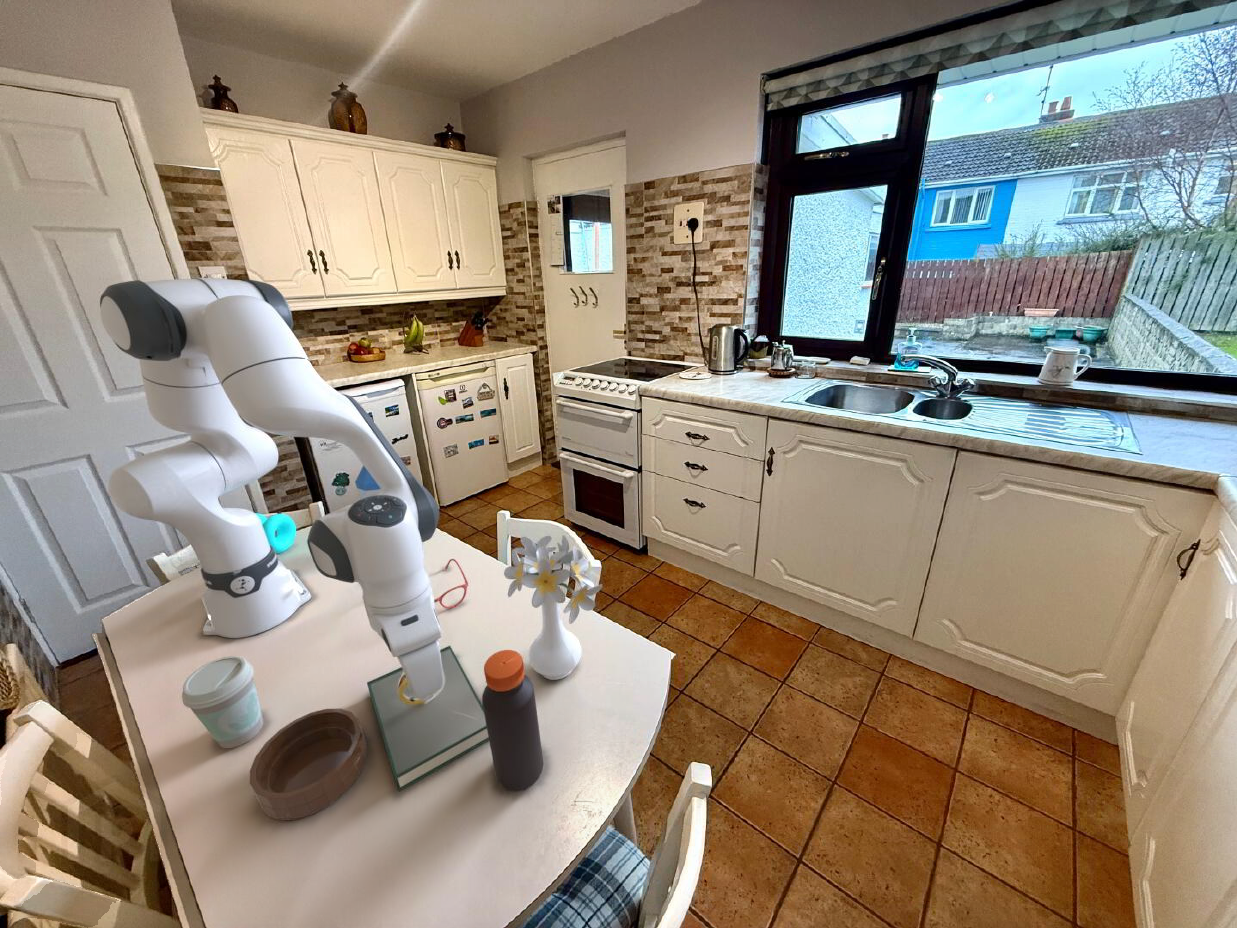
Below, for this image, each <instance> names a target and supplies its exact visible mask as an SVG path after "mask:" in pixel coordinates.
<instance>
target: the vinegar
mask: <svg viewBox="0 0 1237 928" xmlns="http://www.w3.org/2000/svg"><path fill="white" fill-rule="evenodd" d="M524 665H525V664H524V659H523V656H522V654H521V653H519V652H518V651H516V650H513V649H504V650H503V649H502V650H499V651H497V652H495V653H493V654H491V655H490V656H489V657H488V658H487V659H486V661H485V662H484V665H483V672H484V677H485V683H486V686H485V687H484V690H483V692H482V695H481V704H482V706H483V710H484V716H485V721H486V726H487V732H488V737H489V740H488V742H489V747H490V753H491V759H492V764H493V769H494V773H495V777H496V780H497V782H498V784H499V785H500V786H501V787H502V788H503V789H505V790H508V791H512V792H513V791H515V792H518V791H523V790H527V788H530V787H531V786H533V785H534V784H535V782H536V781H538V779H539V778H540V776H541V774H542V773H543V768H544V757H543V750H542V741H541V734H540V726H539V720H538V717H539V716H538V710H537V703H536V696H535V695H536V694H535V687H534V683H533V682H532V680H531V678H530V677H528V676H527V675H526V674H525V666H524Z"/></svg>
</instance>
